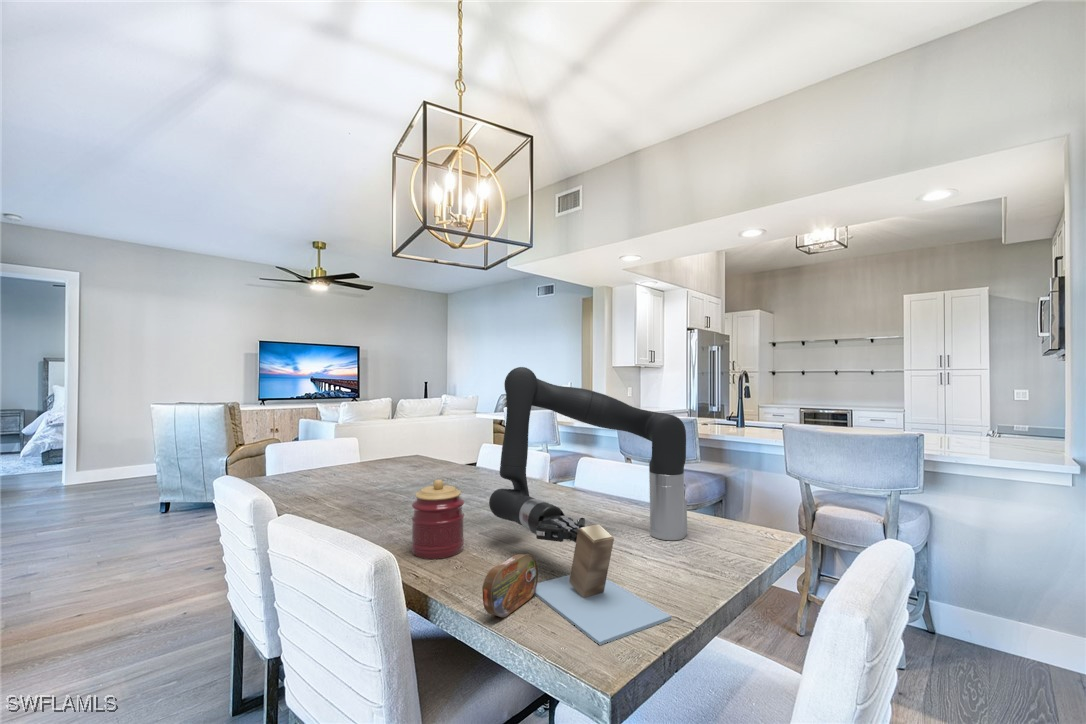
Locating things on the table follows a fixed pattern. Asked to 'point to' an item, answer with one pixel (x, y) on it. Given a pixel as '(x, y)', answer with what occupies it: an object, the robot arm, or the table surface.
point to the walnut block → (591, 560)
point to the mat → (600, 609)
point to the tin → (510, 585)
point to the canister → (437, 522)
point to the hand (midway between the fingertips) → (585, 539)
